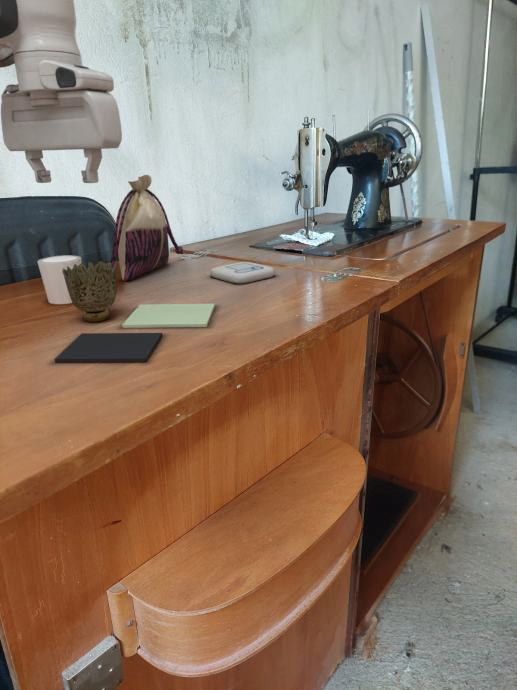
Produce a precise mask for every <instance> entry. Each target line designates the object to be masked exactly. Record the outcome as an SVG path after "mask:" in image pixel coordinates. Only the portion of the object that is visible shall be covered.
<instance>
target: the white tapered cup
mask: <svg viewBox="0 0 517 690" xmlns="http://www.w3.org/2000/svg"><path fill="white" fill-rule="evenodd" d="M81 263H82V256H79V255H69V254H68V255H67V254H66V255H65V254H64V255H53V256H47V257H44V258H40V259H37V266H38V269H39V273H40V276H41V279H42V284H43V288H44V291H45V294H46V298H47V301H48V303H49V304H51V305H68V304H73V303H72V300H71V298H70V295H69V292H68V289H67V286H66V282H65V279H64V275H63V272H62V271H63V268H64V269H66V270H67V267H68V266H69V268H70V269H71V270H72V269H73V267H74V265H75V264H76V265H77V266H79V265H80V264H81Z"/></svg>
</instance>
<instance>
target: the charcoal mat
mask: <svg viewBox="0 0 517 690" xmlns="http://www.w3.org/2000/svg"><path fill="white" fill-rule="evenodd" d="M162 338H163V332H96V333H95V332H91V333H90V332H86V333H85V332H84V333H83V332H82V333H80V334H79V335H77V337H76V338H75V339H74V340H73V341H72V342H70V344H68V346H67V347H65V349H63V350H62V351H61V352H60V353H59V354H58V355H57V356H56V357H55V358H54V363H55V364H56V363H59V364H60V363H64V364H65V363H147V362H148V360H149V358H150V357H151V355H152V354H153V352H154V350H155V349H156V348H157V346H158V344H159V342H160V341H161V339H162Z"/></svg>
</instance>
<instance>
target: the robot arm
mask: <svg viewBox="0 0 517 690" xmlns="http://www.w3.org/2000/svg"><path fill="white" fill-rule="evenodd" d="M76 29H77V15H76V8H75V3H74V0H0V68H7V67H10V66H13V65H14V67H15V73H16V78H17V84H13V83H11V84H7V85H6V86H5V89H4V90H3V92H2V93H1V96H0V97H1V98H0V99H1V103H0V122H1V132H2V133H1V134H2V139H3V144H4V145H5V147H6V149H7V150H8V151H9V152H24V156H25V160H26V161H27V163H28V165H29V166H30V168H31V169H32V171H33V172H34V178H35V182H36V183H38V184H48V183H52V177H51V175H52V174H51V170H50V169H47V168H46V167H45V164H44V163H43V161H42V159H44V153H43V151H71V150H83V156H84V158H85V159H87V160H86V165H85V169H84V170H83V169H82V170H81V171H80V172H81V179H82V182H83V183H84V184H97V183H99V174H98V173H99V172H98V170H99V169H100V165H101V162H102V159H103V151H102V150H103V149H104V150H107V149H108V150H109V149H118V148H119V147H120V145H121V143H122V140H123V132H122V131H123V130H122V124H121V117H120V111H119V105H118V103H117V99H116V98H115V96H114V95H113V94H112V93H111V92H113V91H114V88H115V82H114V78H113V76H112V75H111V74H108V73H106V72H103V71H99V70H96V69H93V68H90V67H87V66H84V65H83V62H82V55H81V51H80V49H79V46H78V42H77V37H76Z"/></svg>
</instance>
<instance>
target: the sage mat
mask: <svg viewBox="0 0 517 690" xmlns="http://www.w3.org/2000/svg"><path fill="white" fill-rule="evenodd" d="M215 308H216V303H160V304H159V303H158V304H157V303H154V304H153V303H151V304H146V303H145V304H143V303H141V304H139V305H138V306H137V307H136V308H135V310H134V311H132V313H131V314H130V315H129V316H128V317H127V319H125V321H124V322H123V323H122V324H121V327H122V329H151V328H152V329H155V328H158V329H159V328H160V329H161V328H164V329H165V328H168V329H169V328H207V327H208V325H209V324H210V323H209V322H210V320H211V318H212V315H213V313H214V310H215Z"/></svg>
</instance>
